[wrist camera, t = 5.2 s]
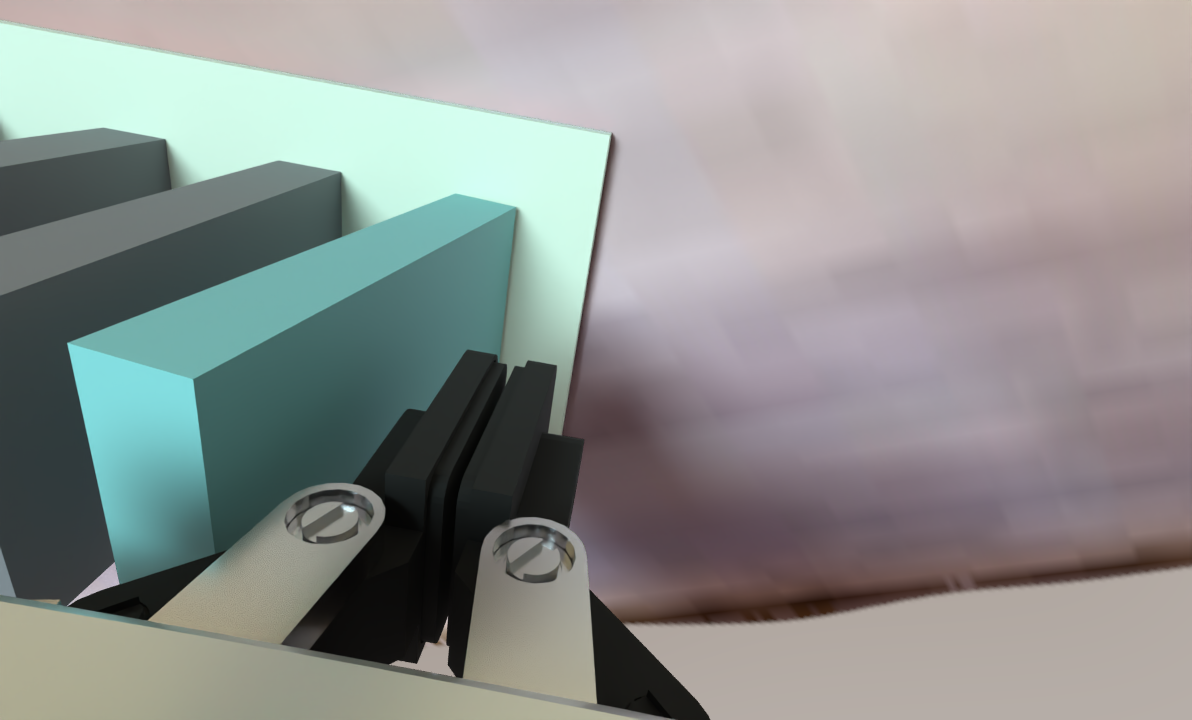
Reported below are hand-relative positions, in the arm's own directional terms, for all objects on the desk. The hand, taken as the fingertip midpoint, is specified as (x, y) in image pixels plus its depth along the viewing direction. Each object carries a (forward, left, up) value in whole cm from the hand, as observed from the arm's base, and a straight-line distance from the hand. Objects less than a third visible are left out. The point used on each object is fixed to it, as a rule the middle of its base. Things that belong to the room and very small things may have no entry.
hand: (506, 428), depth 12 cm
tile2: (+7, 0, -6) cm, 9 cm away
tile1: (+2, 0, -6) cm, 6 cm away
